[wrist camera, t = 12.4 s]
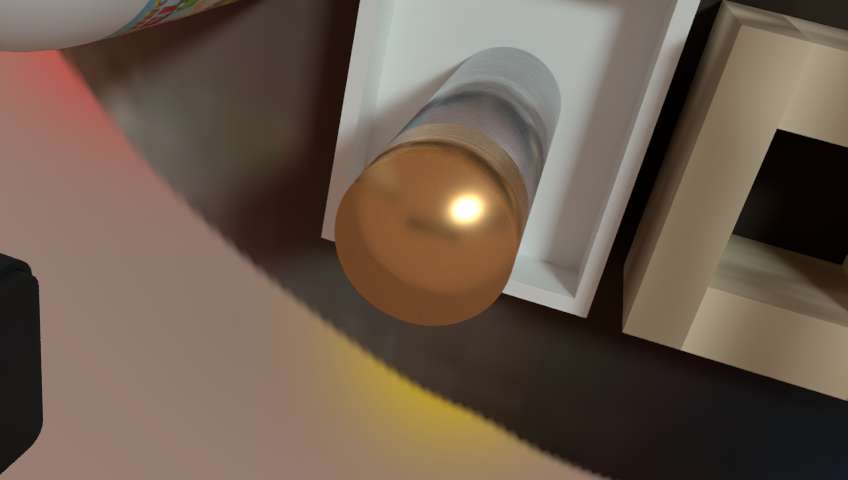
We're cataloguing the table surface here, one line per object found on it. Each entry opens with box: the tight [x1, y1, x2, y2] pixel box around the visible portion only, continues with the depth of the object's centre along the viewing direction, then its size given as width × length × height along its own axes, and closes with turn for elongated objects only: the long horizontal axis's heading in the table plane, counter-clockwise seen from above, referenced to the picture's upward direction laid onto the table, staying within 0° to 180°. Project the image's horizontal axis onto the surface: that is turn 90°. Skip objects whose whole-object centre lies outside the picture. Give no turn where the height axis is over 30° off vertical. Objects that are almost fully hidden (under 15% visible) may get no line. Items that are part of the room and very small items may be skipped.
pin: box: [334, 47, 561, 326], centre depth 22 cm, size 4×4×12 cm
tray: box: [321, 0, 700, 318], centre depth 27 cm, size 10×12×3 cm
